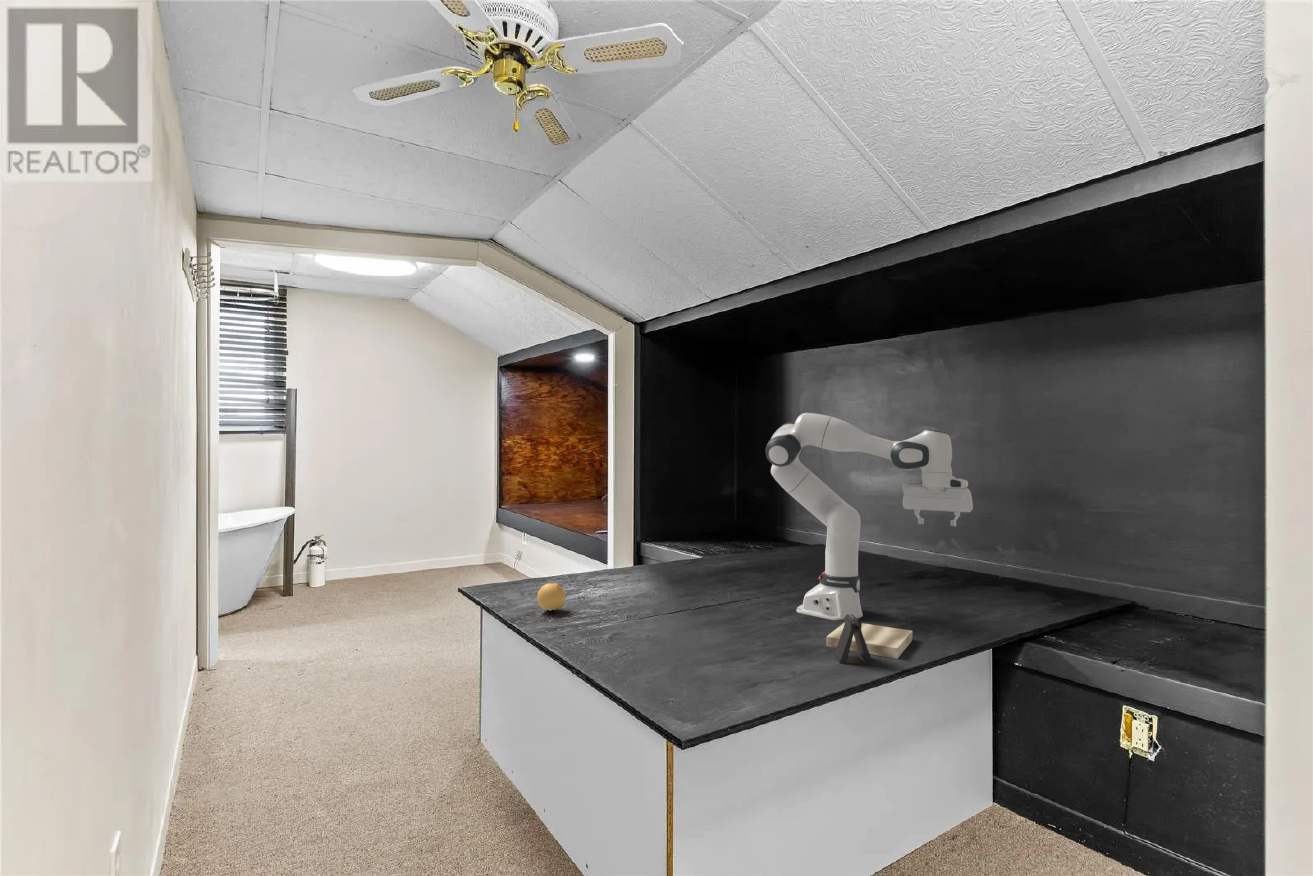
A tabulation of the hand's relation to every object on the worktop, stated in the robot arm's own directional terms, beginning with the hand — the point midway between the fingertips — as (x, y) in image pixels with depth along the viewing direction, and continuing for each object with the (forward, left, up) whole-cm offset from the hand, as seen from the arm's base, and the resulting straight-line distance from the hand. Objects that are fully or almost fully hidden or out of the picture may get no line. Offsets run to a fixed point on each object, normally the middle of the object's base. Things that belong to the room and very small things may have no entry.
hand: (936, 525), depth 203 cm
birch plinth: (-15, -22, -34) cm, 43 cm away
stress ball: (-120, -45, -34) cm, 133 cm away
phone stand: (-15, -40, -34) cm, 55 cm away
